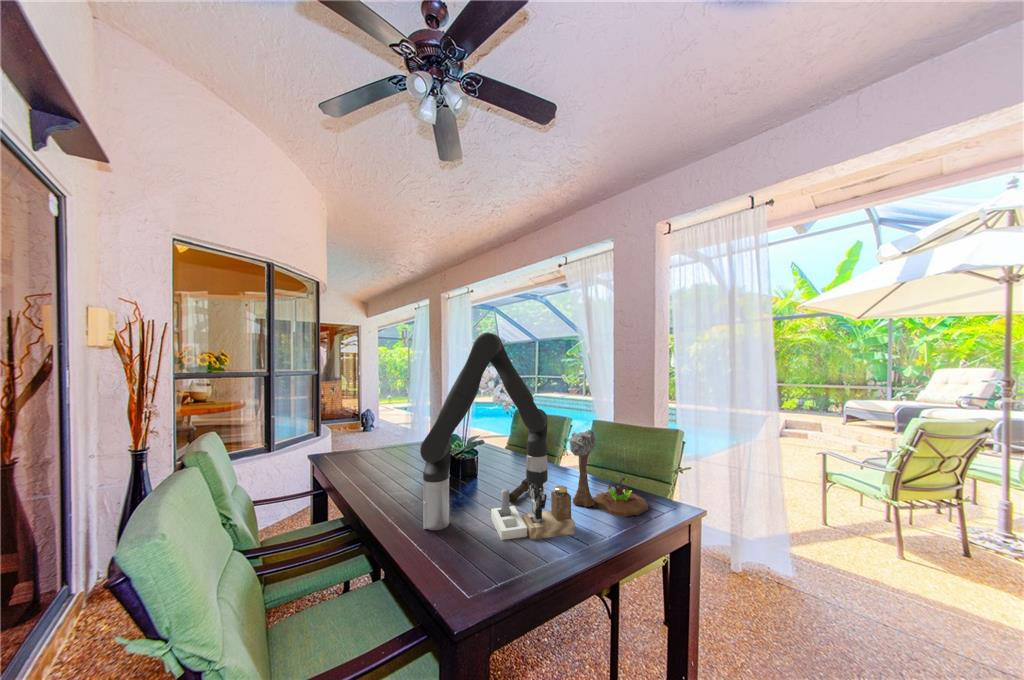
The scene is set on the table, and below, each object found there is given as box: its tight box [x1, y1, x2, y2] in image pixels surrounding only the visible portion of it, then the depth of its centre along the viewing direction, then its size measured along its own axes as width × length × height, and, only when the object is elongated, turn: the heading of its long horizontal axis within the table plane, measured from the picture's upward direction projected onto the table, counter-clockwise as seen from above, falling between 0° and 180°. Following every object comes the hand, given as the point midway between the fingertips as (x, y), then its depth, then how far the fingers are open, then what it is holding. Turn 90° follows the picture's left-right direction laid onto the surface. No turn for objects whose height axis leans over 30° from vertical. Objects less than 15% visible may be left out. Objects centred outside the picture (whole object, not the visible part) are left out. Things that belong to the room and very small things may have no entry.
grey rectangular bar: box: [533, 498, 541, 523], centre depth 128 cm, size 3×3×12 cm
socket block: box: [521, 490, 576, 541], centre depth 129 cm, size 16×10×13 cm, turn 105°
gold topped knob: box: [554, 485, 568, 496], centre depth 130 cm, size 4×4×7 cm
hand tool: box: [509, 478, 529, 504], centre depth 159 cm, size 19×4×5 cm, turn 152°
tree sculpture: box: [568, 429, 597, 508], centre depth 151 cm, size 15×10×30 cm
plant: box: [592, 477, 649, 518], centre depth 150 cm, size 20×20×11 cm
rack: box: [490, 488, 528, 541], centre depth 131 cm, size 9×17×12 cm, turn 15°
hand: (537, 515), depth 128 cm, fingers closed on grey rectangular bar, 3 cm apart
